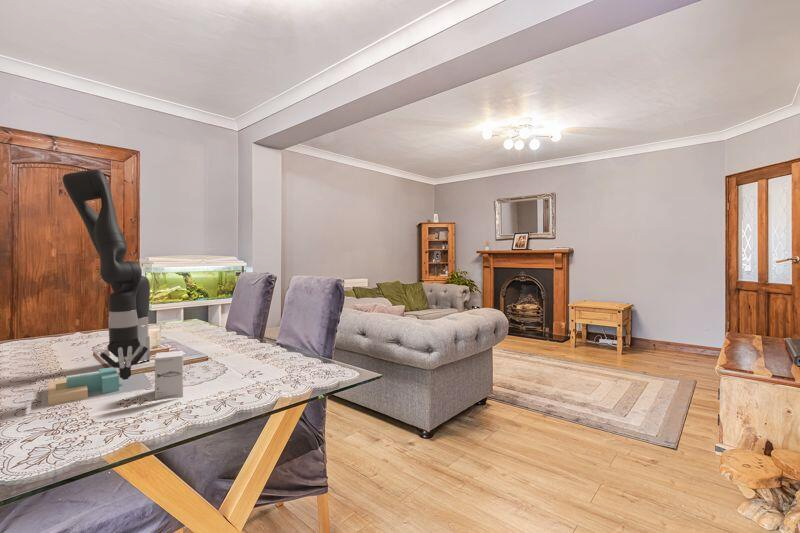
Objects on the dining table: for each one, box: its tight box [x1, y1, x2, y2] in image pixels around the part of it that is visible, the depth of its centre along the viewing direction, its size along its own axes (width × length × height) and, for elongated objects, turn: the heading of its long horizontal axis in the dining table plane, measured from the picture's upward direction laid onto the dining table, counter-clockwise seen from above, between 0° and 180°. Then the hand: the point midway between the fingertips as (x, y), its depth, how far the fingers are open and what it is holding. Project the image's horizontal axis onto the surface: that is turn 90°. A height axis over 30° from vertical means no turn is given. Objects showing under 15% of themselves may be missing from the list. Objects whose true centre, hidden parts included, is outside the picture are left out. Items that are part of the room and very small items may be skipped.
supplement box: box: [154, 350, 184, 402], centre depth 120 cm, size 7×7×13 cm
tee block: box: [65, 366, 120, 394], centre depth 121 cm, size 12×12×4 cm
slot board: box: [40, 372, 154, 409], centre depth 122 cm, size 26×18×4 cm
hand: (125, 378), depth 126 cm, fingers closed
